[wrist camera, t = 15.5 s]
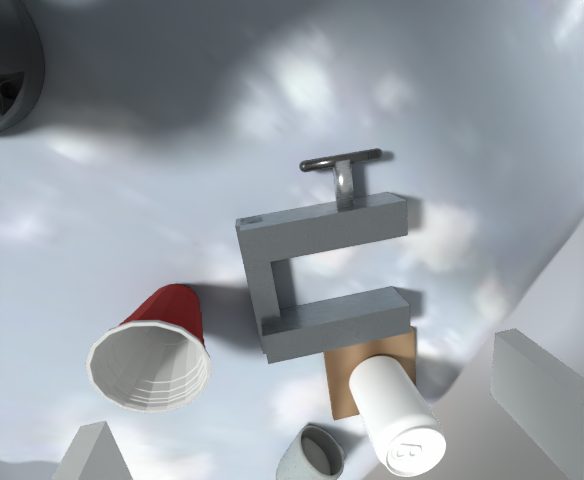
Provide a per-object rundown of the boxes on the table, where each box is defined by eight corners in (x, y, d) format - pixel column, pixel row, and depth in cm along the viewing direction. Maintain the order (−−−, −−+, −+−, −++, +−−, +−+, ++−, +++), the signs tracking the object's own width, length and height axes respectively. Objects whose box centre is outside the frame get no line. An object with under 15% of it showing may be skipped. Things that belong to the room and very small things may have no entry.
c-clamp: (262, 339, 43) (264, 364, 39) (225, 171, 36) (222, 177, 31) (393, 311, 45) (410, 332, 40) (384, 144, 37) (404, 146, 33)
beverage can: (392, 399, 49) (437, 479, 38) (342, 397, 47) (372, 480, 36) (407, 354, 46) (460, 425, 35) (354, 350, 45) (391, 424, 34)
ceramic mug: (270, 457, 51) (275, 511, 43) (295, 419, 49) (304, 469, 42) (327, 471, 54) (340, 524, 46) (352, 435, 52) (370, 485, 45)
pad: (332, 414, 49) (334, 420, 49) (322, 345, 45) (324, 349, 44) (412, 395, 51) (416, 400, 50) (410, 326, 46) (414, 330, 45)
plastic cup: (125, 337, 41) (79, 416, 29) (134, 258, 38) (87, 313, 26) (212, 347, 43) (201, 424, 32) (227, 273, 40) (221, 330, 29)
